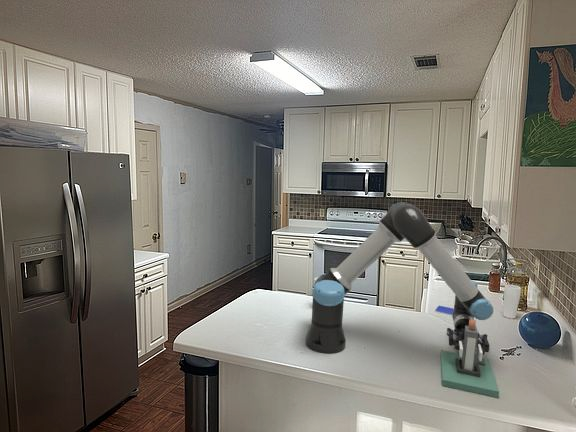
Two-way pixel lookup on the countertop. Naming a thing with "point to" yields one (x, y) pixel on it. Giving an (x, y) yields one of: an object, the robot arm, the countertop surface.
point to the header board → (468, 375)
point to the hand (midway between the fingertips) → (471, 354)
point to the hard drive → (444, 310)
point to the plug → (469, 346)
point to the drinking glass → (511, 300)
